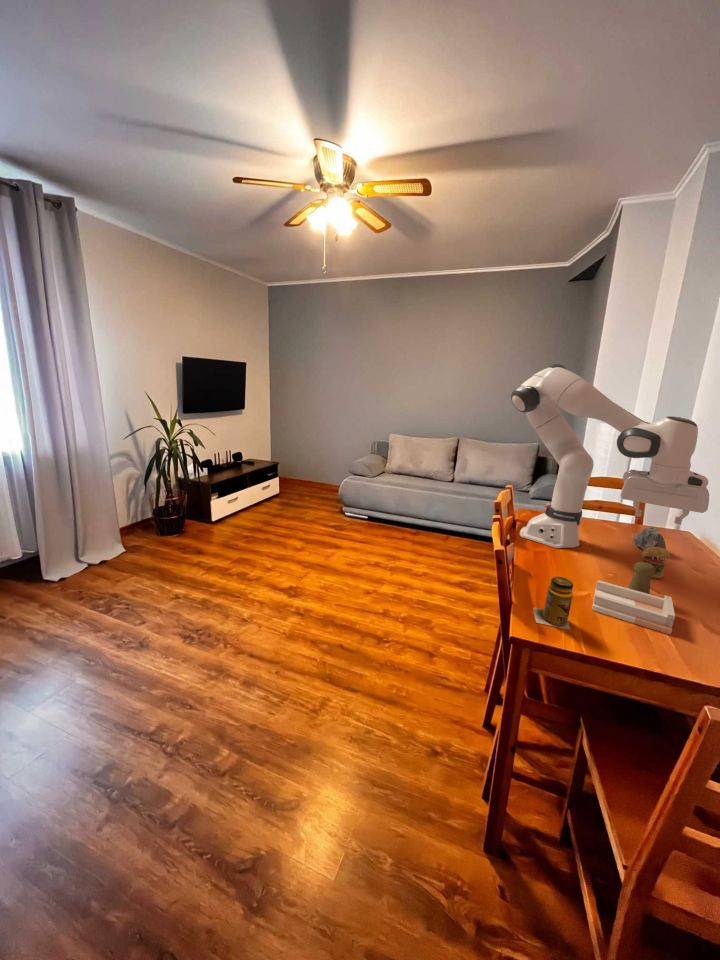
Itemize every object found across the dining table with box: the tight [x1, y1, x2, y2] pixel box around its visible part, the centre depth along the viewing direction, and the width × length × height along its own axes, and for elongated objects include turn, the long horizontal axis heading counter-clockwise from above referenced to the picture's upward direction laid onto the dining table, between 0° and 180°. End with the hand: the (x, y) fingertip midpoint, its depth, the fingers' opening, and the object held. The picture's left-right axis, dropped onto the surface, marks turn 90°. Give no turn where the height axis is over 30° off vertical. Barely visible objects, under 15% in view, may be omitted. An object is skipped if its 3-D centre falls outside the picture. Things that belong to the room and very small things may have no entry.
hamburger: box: [640, 541, 671, 579], centre depth 131 cm, size 8×7×12 cm
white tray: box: [591, 579, 676, 636], centre depth 110 cm, size 18×14×5 cm
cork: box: [627, 561, 655, 595], centre depth 117 cm, size 6×6×11 cm
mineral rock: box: [632, 526, 667, 551], centre depth 152 cm, size 13×11×10 cm
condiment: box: [532, 576, 574, 630], centre depth 103 cm, size 7×8×12 cm
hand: (657, 519), depth 113 cm, fingers open, 8 cm apart
